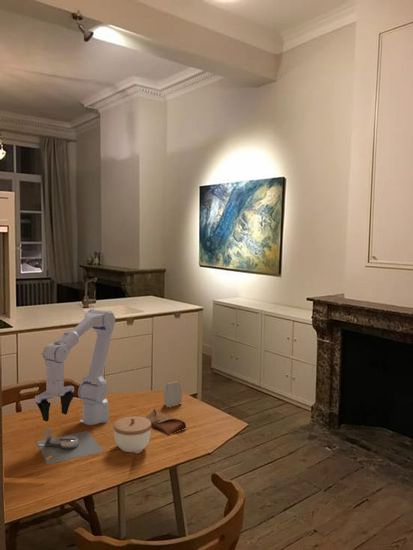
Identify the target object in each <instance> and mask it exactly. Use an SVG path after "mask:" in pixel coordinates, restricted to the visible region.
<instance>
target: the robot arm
mask: <svg viewBox="0 0 413 550" xmlns="http://www.w3.org/2000/svg"><path fill="white" fill-rule="evenodd" d="M115 323H116V316H115V313H114V312H113V311H112V310H103V309H102V310H101V309H94V308H91V309H89V310H88V311H87V312H85V314H84V318H83V319H82V320H81V321H80V322H79V323H78V324H77V325H76V326H75V328H73V329H72V330H66V331H64V332H63V334H62V335H61V336H60V337H59V338H57V339H56V340H55V341H54V342H53V343H49V344H47V345H46V346H45V347H44V349H43V352H42V355H41V356H42V358H43V360H44V365H46V366H45V369H46V370H45V372H46V376H45V377H46V378H45V379H46V380H45V381H46V383H45V384H46V386H45V387H46V390H45V391H44V392H41V393H40V394H38V395H35V396H34V402H35V403H36V405H37V408H38V409H39V411H40V414H41V417H42V421H44V422H49V418H50V408H51V402H49V401H48V400H50V399H53V398H56V397H59V398H60V407H61V409H60V410H61V414H63V415H67V414H68V411H69V407H70V404H71V402H72V400H73V399H74V397H75V394H74V392H75V386H73V385H67V386H65V378H64V377H65V376H64V375H65V370H64V368H65V362H64V361H66V360H67V358H68V356H69V353H70V351H71V350H73V348H74V347H75V346H76V345H78V344H79V342H80V338H81V337H82V336H83V335H85V333H87V332H88V331H89V330H91V328H92V329H93V330H94V331H95V332H96V341H95V344H94V348H93V353H92V358H91V363H90V366H89V371H88V375H86V376H85V377H83V378H82V379H81V383H80V385H79V386H78V390H77V395H78V397H79V399H80V401H81V402H82V419H79V422H80V423H82V424H85V425H87V426H90V425H91V426H93V425H98V424H100V423H110V421H109V420H110V419H109V416H110V414H109V413H110V411H109V406H110V405H109V402H108V399H107V398H106V396H107V394H108V390H107V385H108V382H107V380H106V379H105V378H104V376H103V375H104V370H105V366H106V362H107V358H108V353H109V348H110V344H111V339H112V335H113V333H114V328H115Z"/></svg>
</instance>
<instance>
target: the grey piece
mask: <svg viewBox="0 0 413 550" xmlns="http://www.w3.org/2000/svg"><path fill="white" fill-rule="evenodd" d="M51 438H52V429H51V428H49V429H45V439H46V442H45V446H59V447H60V448H61V449H65V450H69V449H74V448H76V447H77V446H78V437H76V436H66V437H63V438H61V439H60V441H51Z"/></svg>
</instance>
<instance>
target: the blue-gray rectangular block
mask: <svg viewBox="0 0 413 550" xmlns="http://www.w3.org/2000/svg"><path fill="white" fill-rule="evenodd" d="M182 393H183V392H182V387H181V383H180V380H176V381H172V382H168V383H166V384H165V389H164V391H163V406H164V405H166V406H168V407H170V406H173V405H176V404H179V403H181V404H182V401H183V400H182V398H183V397H182V396H183V395H182ZM166 406H165V407H166ZM168 407H167V408H168ZM170 408H171V407H170Z"/></svg>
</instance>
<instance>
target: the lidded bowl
mask: <svg viewBox="0 0 413 550" xmlns="http://www.w3.org/2000/svg"><path fill="white" fill-rule="evenodd" d="M113 429H114V430H113V434H114V440H115V444H116V445H117V447H118V448H119V449H120V450H121V451H122V452H127V453H134V454H135V455H136V454H139V453H141V452H143V450H144V449H145V448H146V447H147V445H148V444H149V441H150V438H151V433H152V426H151V421H150V420H149V419H147V418H146V417H143V416H135V415H134V416H126V417H122V418H119V419H117V420H116V421H115V422H114V424H113Z"/></svg>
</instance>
